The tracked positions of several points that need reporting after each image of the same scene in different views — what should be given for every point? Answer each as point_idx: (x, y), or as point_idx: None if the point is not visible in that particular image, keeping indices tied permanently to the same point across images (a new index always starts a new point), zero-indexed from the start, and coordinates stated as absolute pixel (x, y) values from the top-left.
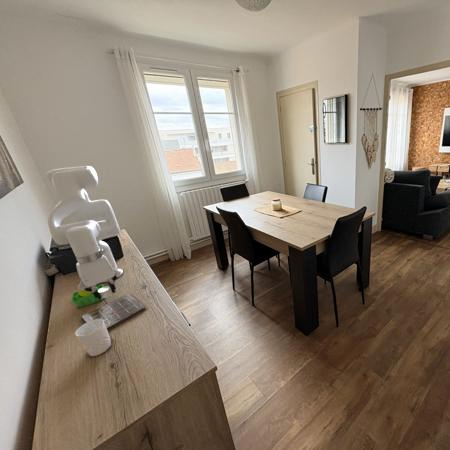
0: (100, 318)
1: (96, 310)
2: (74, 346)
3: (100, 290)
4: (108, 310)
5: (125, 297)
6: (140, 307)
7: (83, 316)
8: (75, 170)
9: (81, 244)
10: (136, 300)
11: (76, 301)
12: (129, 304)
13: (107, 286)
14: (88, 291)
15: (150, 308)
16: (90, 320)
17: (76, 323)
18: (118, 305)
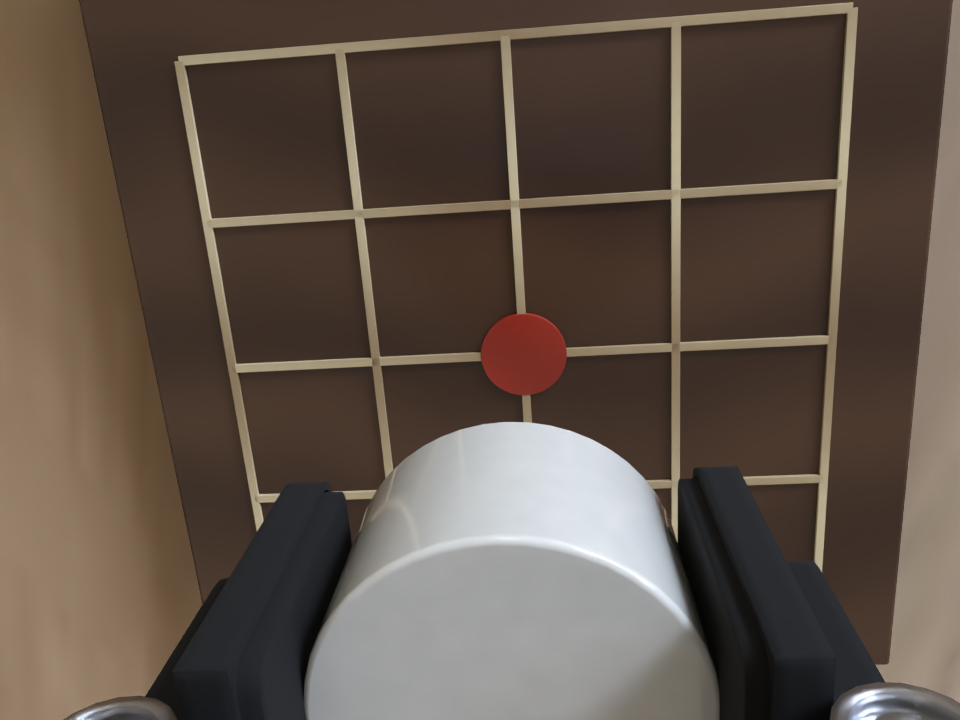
0: (322, 370)
1: (309, 5)
2: (11, 606)
3: (398, 696)
4: (471, 228)
5: (848, 25)
6: (847, 614)
7: (99, 9)
8: None
9: None
10: (917, 348)
11: None
12: (781, 367)
13: (661, 617)
14: None
15: (924, 670)
16: (192, 271)
17: (12, 46)
18: (643, 219)
